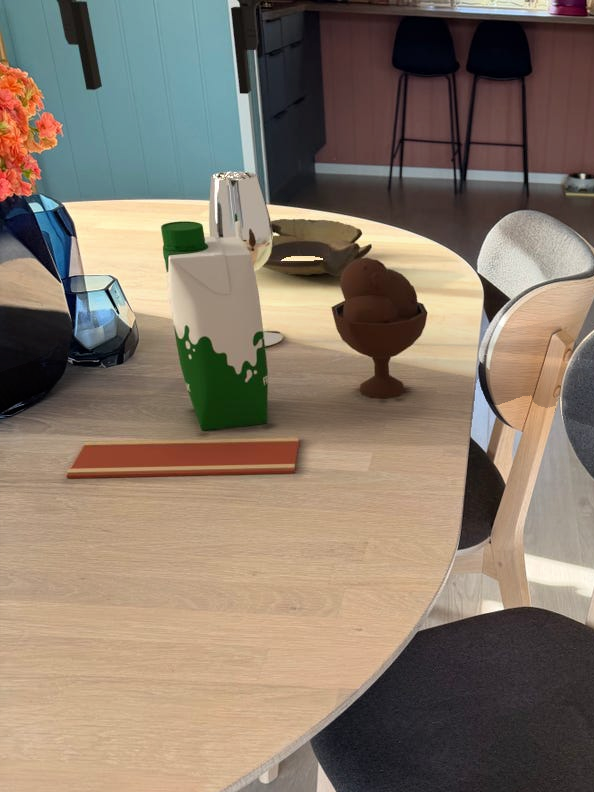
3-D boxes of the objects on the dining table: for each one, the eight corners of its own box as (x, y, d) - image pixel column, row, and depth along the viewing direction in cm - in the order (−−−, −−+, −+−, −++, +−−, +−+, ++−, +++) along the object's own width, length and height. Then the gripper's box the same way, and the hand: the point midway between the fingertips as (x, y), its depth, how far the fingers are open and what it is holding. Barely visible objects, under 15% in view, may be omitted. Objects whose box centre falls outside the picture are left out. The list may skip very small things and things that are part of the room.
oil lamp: (359, 247, 166) (357, 200, 161) (388, 295, 143) (386, 242, 138) (231, 252, 161) (225, 204, 157) (240, 303, 138) (233, 248, 133)
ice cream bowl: (381, 415, 105) (375, 277, 96) (318, 388, 111) (306, 257, 102) (446, 390, 111) (446, 259, 103) (383, 367, 117) (378, 241, 109)
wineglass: (212, 340, 124) (187, 176, 112) (254, 326, 129) (235, 167, 118) (253, 353, 121) (232, 184, 109) (295, 337, 126) (280, 175, 114)
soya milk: (185, 405, 106) (153, 217, 94) (265, 396, 109) (243, 212, 97) (193, 435, 99) (160, 237, 88) (278, 425, 102) (256, 232, 90)
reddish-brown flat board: (67, 478, 91) (65, 474, 91) (87, 444, 97) (86, 440, 97) (294, 473, 93) (294, 469, 93) (299, 439, 99) (299, 435, 99)
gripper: (-58, -239, 69) (17, 91, 82) (283, -219, 71) (304, 98, 84) (-24, -224, 75) (41, 81, 88) (289, -206, 77) (309, 88, 90)
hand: (170, 90), depth 86 cm, fingers open, 13 cm apart
